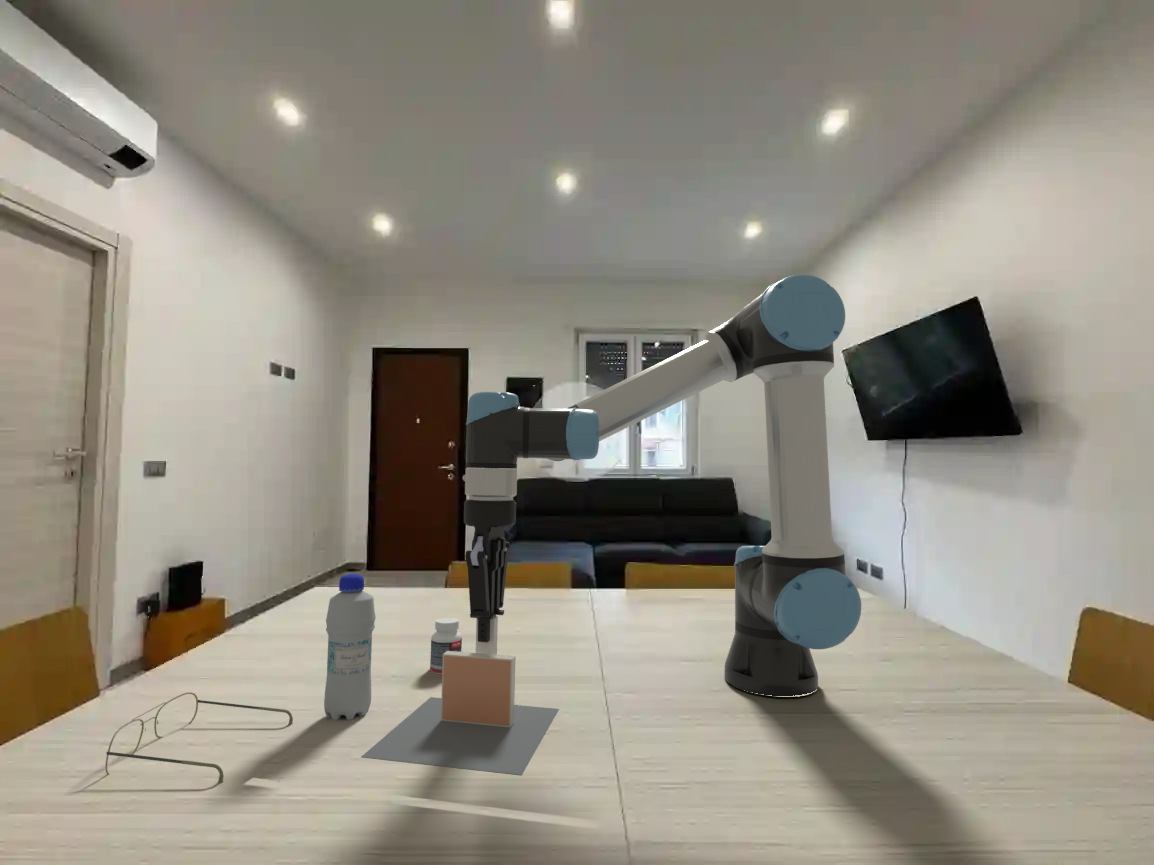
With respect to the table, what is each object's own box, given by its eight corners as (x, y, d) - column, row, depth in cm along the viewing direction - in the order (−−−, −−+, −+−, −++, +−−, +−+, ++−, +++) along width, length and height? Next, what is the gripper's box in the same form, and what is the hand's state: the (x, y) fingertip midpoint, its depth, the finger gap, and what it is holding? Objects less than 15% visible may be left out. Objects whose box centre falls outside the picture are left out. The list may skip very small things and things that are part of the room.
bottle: (324, 729, 84) (330, 579, 85) (319, 711, 90) (325, 571, 91) (376, 720, 87) (381, 576, 88) (368, 704, 93) (372, 568, 94)
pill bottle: (453, 678, 105) (455, 625, 105) (424, 676, 106) (426, 623, 106) (465, 668, 110) (466, 617, 110) (437, 666, 111) (439, 615, 111)
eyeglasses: (186, 724, 86) (188, 686, 86) (292, 727, 85) (294, 689, 86) (92, 782, 70) (95, 736, 70) (222, 786, 69) (224, 740, 70)
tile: (513, 722, 86) (515, 656, 86) (510, 727, 84) (512, 659, 84) (445, 715, 87) (447, 650, 88) (440, 720, 86) (442, 654, 86)
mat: (559, 713, 91) (559, 708, 91) (521, 780, 71) (521, 774, 71) (430, 701, 94) (430, 697, 94) (360, 761, 75) (361, 756, 75)
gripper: (481, 495, 98) (477, 648, 97) (448, 499, 85) (443, 675, 84) (527, 497, 97) (523, 651, 95) (501, 501, 84) (496, 679, 82)
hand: (486, 662), depth 90 cm, fingers closed
